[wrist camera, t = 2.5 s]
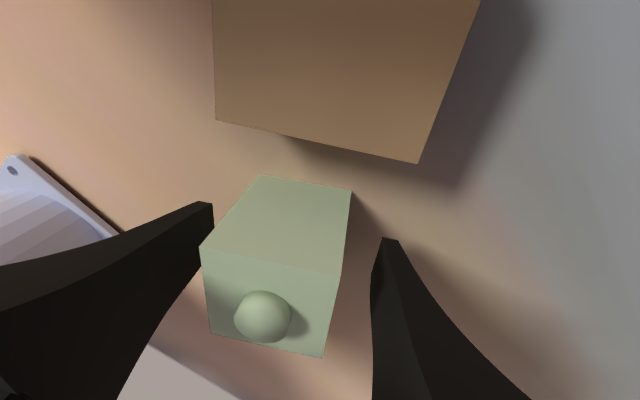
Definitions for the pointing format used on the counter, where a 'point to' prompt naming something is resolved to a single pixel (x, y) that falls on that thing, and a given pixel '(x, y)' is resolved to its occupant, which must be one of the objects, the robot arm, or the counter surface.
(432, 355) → the robot arm
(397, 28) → the walnut block
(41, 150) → the counter surface
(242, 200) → the sage brick
